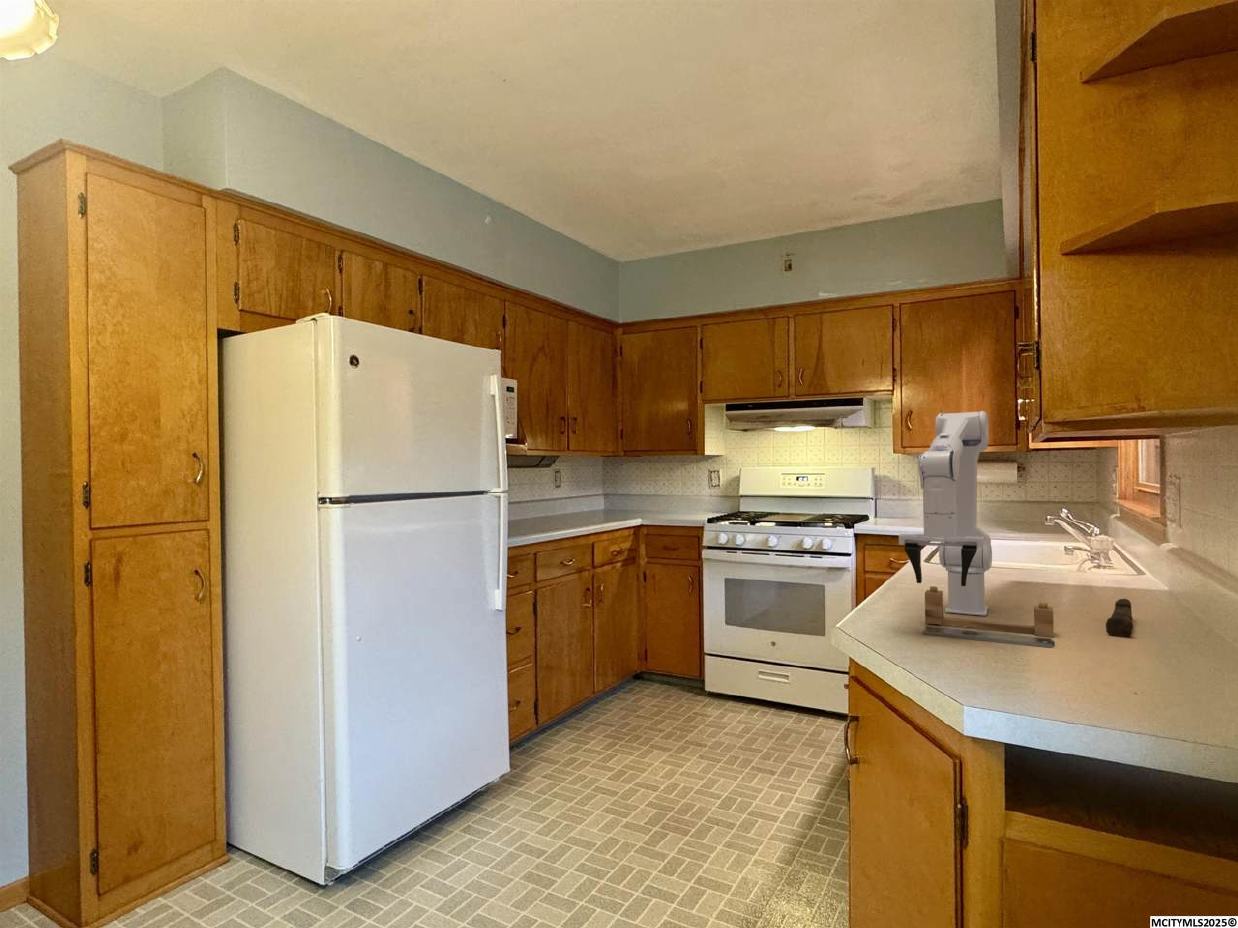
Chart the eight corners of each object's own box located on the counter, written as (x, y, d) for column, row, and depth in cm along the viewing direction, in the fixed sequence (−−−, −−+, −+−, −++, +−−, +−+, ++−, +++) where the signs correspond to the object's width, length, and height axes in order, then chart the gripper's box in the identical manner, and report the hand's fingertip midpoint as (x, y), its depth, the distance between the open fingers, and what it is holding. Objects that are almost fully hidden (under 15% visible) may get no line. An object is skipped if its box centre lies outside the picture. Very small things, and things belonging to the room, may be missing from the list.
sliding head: (927, 618, 139) (926, 584, 139) (943, 620, 137) (942, 585, 137) (925, 623, 135) (924, 587, 135) (941, 624, 134) (940, 589, 134)
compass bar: (930, 620, 138) (929, 592, 138) (1052, 632, 127) (1052, 601, 127) (928, 624, 135) (927, 595, 135) (1053, 637, 124) (1053, 605, 124)
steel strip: (925, 628, 132) (925, 625, 132) (1054, 642, 121) (1054, 638, 121) (923, 634, 128) (923, 630, 128) (1055, 648, 117) (1055, 644, 117)
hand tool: (1132, 640, 122) (1132, 615, 122) (1106, 636, 125) (1105, 612, 125) (1142, 621, 136) (1141, 598, 136) (1117, 618, 139) (1117, 596, 139)
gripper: (895, 513, 127) (897, 584, 127) (981, 515, 120) (983, 590, 120) (901, 511, 133) (902, 578, 133) (983, 512, 126) (984, 583, 126)
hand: (941, 583), depth 127 cm, fingers open, 7 cm apart
